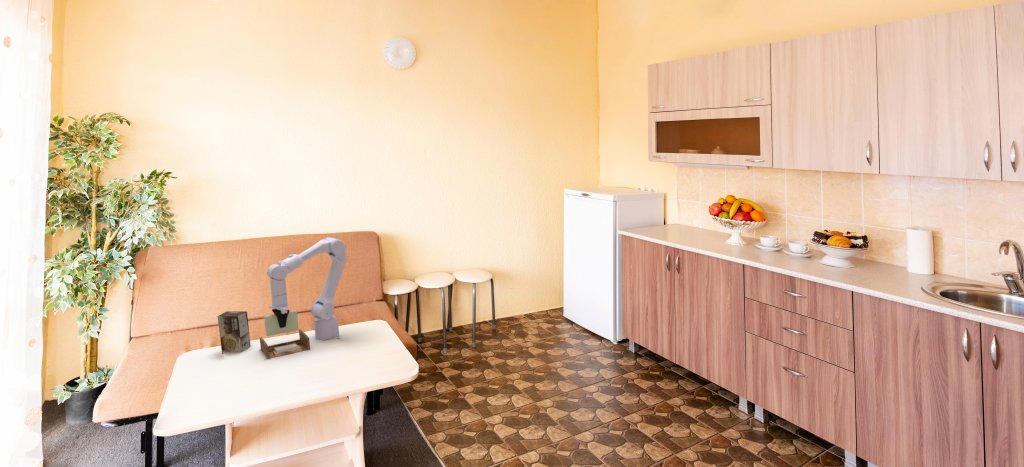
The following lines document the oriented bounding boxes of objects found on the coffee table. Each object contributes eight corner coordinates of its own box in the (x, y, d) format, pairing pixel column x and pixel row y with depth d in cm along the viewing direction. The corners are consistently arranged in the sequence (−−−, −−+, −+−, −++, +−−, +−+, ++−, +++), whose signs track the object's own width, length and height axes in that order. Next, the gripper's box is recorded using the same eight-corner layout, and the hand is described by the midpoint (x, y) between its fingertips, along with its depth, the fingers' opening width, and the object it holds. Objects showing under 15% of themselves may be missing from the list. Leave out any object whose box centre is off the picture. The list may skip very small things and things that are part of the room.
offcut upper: (295, 346, 215) (295, 343, 214) (297, 348, 212) (297, 345, 212) (274, 350, 210) (274, 347, 210) (276, 353, 207) (276, 350, 207)
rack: (301, 342, 225) (300, 329, 224) (310, 351, 214) (309, 337, 213) (261, 351, 215) (259, 337, 214) (267, 361, 205) (266, 346, 204)
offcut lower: (299, 347, 216) (299, 345, 216) (302, 350, 213) (301, 348, 212) (273, 353, 210) (272, 350, 210) (275, 356, 207) (275, 353, 207)
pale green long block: (297, 328, 220) (295, 310, 219) (298, 330, 218) (296, 311, 217) (266, 334, 213) (264, 315, 212) (267, 336, 211) (265, 317, 210)
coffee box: (251, 348, 219) (247, 311, 216) (242, 354, 212) (238, 316, 210) (230, 348, 220) (226, 310, 217) (221, 354, 213) (216, 315, 211)
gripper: (264, 291, 217) (267, 323, 219) (272, 299, 205) (275, 333, 207) (283, 289, 221) (285, 320, 223) (291, 296, 209) (294, 329, 211)
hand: (282, 326), depth 215 cm, fingers closed on pale green long block, 2 cm apart
